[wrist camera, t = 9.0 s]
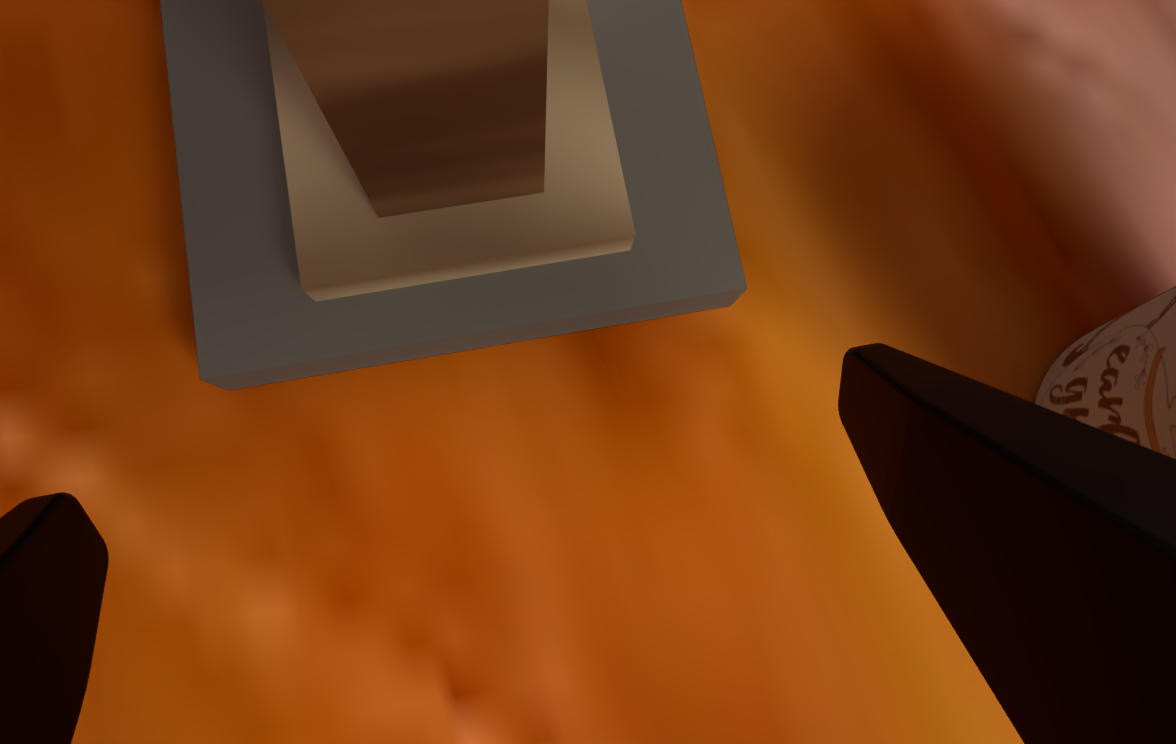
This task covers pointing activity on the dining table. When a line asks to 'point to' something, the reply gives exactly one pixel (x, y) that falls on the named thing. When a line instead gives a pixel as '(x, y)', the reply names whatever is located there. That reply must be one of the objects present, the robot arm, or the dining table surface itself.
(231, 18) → the grey tray
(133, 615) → the dining table surface
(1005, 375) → the dining table surface
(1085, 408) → the mug
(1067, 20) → the dining table surface
